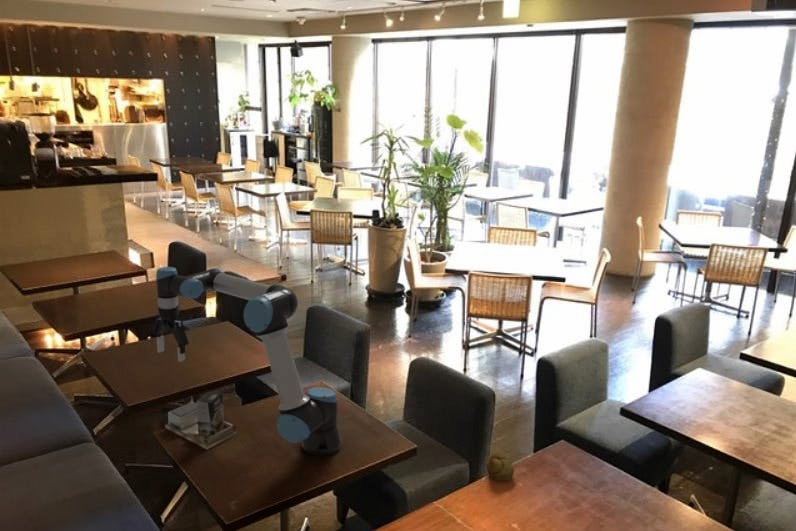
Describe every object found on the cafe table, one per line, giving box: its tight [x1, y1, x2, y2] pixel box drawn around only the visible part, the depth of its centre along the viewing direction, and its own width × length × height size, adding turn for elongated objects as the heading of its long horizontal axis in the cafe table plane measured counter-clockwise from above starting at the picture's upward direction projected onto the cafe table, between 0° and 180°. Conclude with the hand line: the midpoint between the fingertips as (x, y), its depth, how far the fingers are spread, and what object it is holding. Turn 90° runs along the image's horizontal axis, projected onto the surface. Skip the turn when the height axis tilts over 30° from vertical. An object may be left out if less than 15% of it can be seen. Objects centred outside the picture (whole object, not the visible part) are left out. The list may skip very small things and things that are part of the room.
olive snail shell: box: [486, 452, 515, 482], centre depth 221 cm, size 13×10×8 cm
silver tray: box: [164, 420, 237, 450], centre depth 244 cm, size 26×14×4 cm, turn 55°
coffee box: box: [196, 391, 225, 438], centre depth 238 cm, size 9×6×16 cm
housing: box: [167, 401, 198, 430], centre depth 248 cm, size 8×12×5 cm
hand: (171, 356), depth 246 cm, fingers open, 13 cm apart
